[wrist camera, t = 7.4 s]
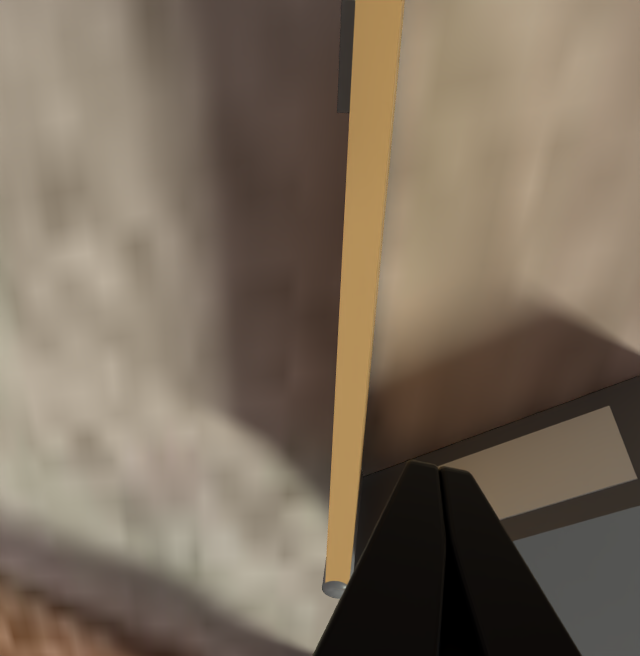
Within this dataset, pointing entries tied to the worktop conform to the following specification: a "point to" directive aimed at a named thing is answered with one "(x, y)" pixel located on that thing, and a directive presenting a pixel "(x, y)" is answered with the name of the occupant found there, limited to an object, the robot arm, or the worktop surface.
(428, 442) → the worktop surface
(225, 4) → the worktop surface
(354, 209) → the side door
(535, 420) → the action camera body
